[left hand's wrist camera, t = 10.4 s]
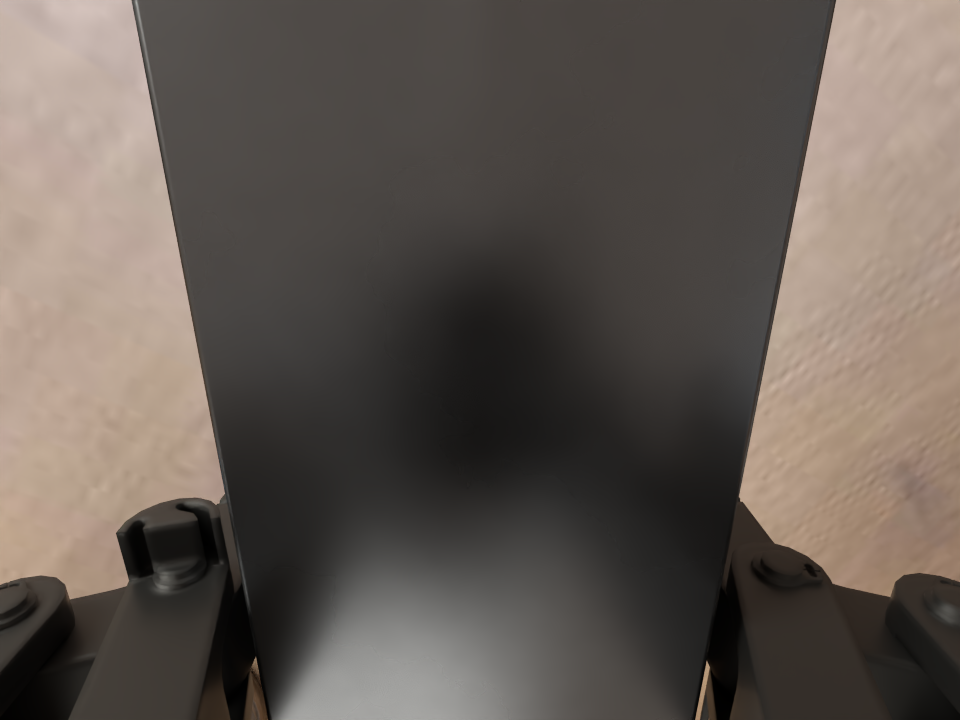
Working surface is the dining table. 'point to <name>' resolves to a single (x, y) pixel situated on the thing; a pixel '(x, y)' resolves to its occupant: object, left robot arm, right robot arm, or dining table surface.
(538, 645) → the bar
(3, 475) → the dining table surface
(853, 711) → the left robot arm
